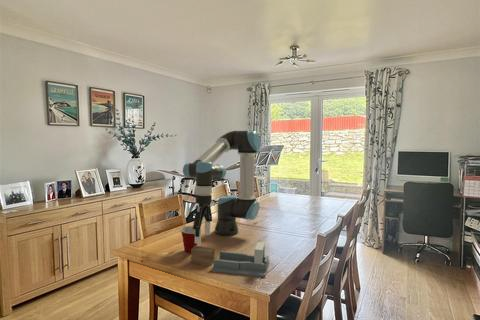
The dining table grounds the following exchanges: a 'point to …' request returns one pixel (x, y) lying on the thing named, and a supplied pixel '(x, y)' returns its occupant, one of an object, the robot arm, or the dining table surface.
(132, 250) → the dining table surface
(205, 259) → the brown rectangular block
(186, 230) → the plastic cup
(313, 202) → the dining table surface
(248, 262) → the grey grooved base
